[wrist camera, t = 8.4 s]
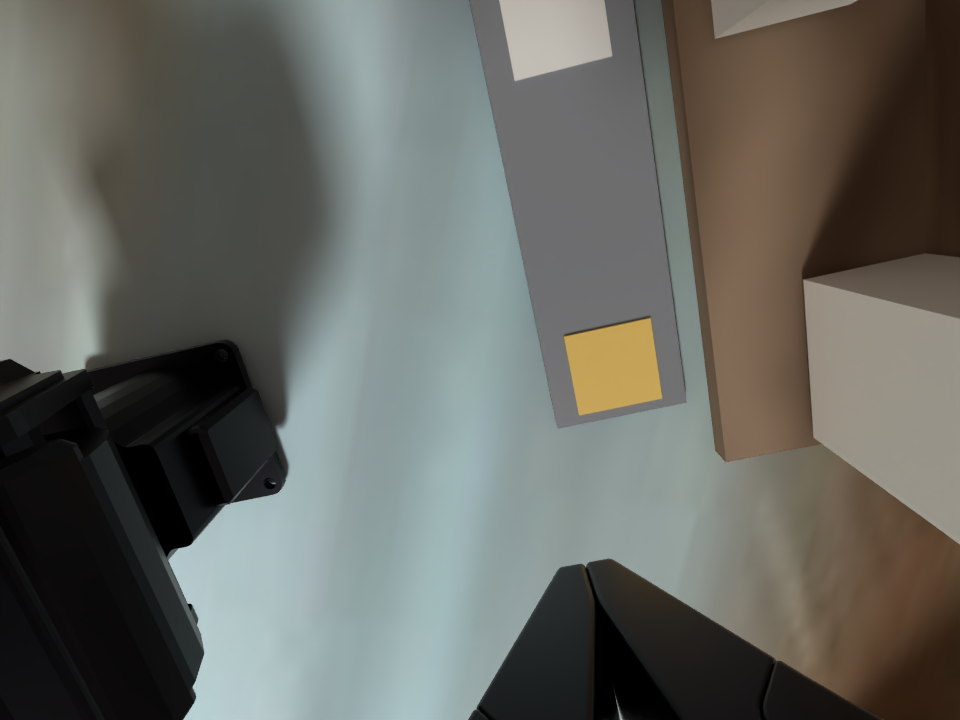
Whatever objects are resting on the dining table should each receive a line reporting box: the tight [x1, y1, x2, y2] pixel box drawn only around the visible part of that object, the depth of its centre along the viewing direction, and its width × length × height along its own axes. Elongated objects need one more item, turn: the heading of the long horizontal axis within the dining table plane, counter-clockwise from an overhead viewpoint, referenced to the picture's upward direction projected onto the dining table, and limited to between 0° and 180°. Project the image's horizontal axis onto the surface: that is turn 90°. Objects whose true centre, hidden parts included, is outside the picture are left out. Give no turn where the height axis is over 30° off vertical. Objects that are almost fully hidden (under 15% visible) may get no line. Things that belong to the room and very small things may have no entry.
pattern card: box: [469, 0, 686, 428], centre depth 19 cm, size 5×16×1 cm, turn 13°
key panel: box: [662, 0, 960, 462], centre depth 14 cm, size 10×21×10 cm, turn 13°
